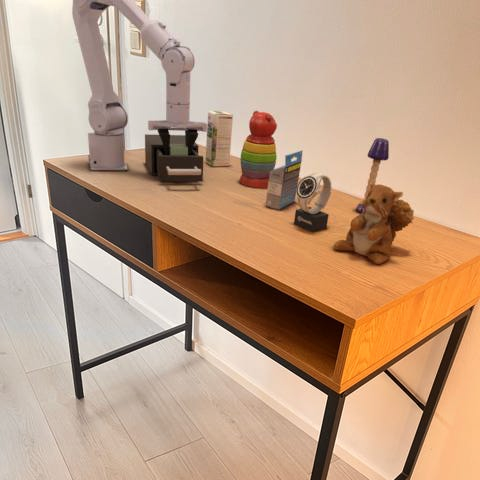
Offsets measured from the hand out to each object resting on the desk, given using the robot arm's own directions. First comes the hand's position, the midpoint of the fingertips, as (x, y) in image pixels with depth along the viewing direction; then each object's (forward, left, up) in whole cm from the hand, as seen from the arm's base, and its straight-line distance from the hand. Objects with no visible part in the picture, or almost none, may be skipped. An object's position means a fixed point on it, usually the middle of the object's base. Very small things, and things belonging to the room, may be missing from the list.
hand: (177, 160), depth 127 cm
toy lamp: (+40, -29, -5) cm, 50 cm away
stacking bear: (+21, -4, -5) cm, 22 cm away
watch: (+22, -37, -5) cm, 43 cm away
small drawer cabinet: (0, +10, -5) cm, 11 cm away
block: (0, 0, -1) cm, 1 cm away
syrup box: (+15, +16, -5) cm, 23 cm away
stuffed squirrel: (+29, -51, -5) cm, 59 cm away
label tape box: (+21, -22, -5) cm, 31 cm away
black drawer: (0, -2, -4) cm, 4 cm away
